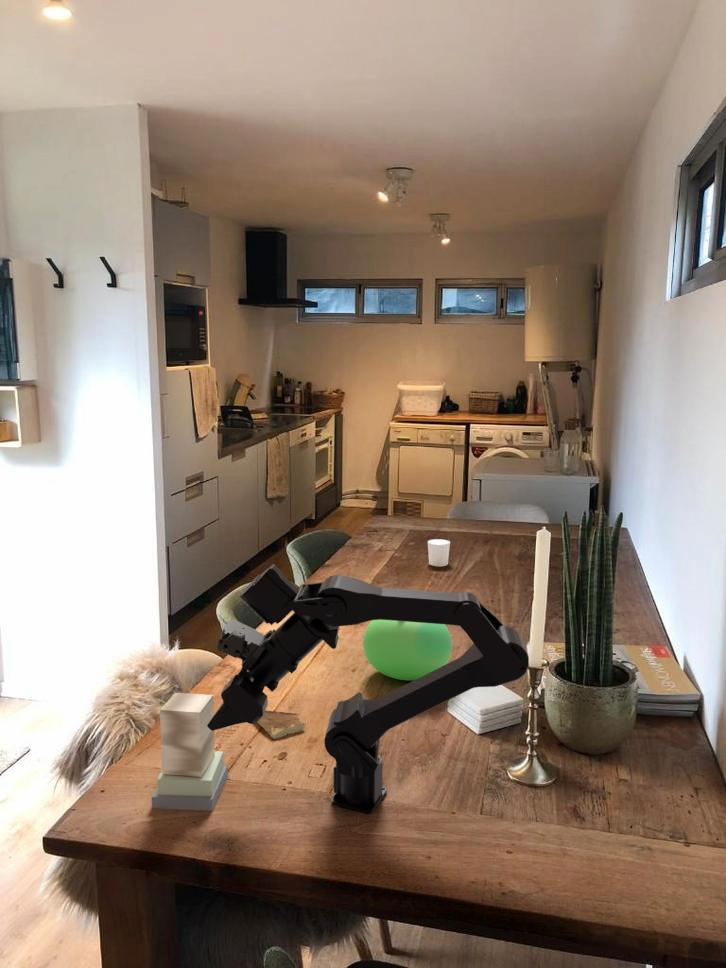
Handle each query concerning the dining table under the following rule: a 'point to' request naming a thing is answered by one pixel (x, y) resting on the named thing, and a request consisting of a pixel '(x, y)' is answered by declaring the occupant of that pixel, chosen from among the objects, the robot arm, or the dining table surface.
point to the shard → (281, 723)
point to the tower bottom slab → (190, 798)
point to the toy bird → (406, 648)
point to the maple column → (187, 734)
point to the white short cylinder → (438, 552)
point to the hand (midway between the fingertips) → (217, 712)
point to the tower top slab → (192, 780)
